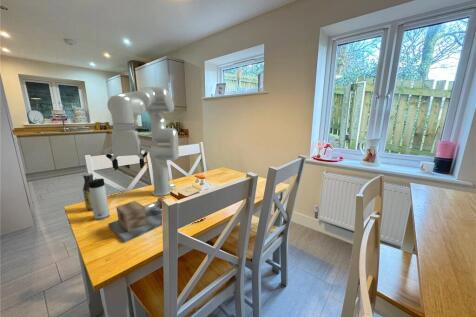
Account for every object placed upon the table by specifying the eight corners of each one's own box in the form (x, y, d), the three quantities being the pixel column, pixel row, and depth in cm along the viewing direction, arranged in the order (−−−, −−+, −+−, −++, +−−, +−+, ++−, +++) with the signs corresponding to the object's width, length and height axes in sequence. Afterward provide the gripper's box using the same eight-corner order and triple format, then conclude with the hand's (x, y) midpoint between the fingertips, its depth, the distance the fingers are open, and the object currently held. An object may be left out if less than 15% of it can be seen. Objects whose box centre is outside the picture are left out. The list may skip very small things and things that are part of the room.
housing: (158, 207, 107) (156, 190, 104) (176, 218, 96) (175, 199, 93) (108, 226, 88) (105, 206, 86) (124, 242, 77) (121, 220, 75)
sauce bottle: (85, 208, 105) (79, 173, 101) (99, 205, 110) (93, 171, 105) (87, 212, 101) (80, 176, 96) (101, 208, 105) (95, 174, 101)
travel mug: (102, 221, 93) (95, 181, 89) (91, 219, 94) (84, 180, 90) (113, 214, 99) (107, 177, 95) (102, 213, 100) (96, 176, 96)
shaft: (161, 205, 101) (160, 195, 100) (167, 209, 98) (166, 198, 96) (132, 216, 90) (131, 204, 89) (138, 220, 87) (137, 208, 85)
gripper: (148, 127, 84) (152, 164, 88) (103, 127, 79) (109, 167, 83) (146, 128, 77) (150, 169, 81) (95, 128, 72) (102, 172, 76)
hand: (129, 168), depth 82 cm, fingers open, 9 cm apart
